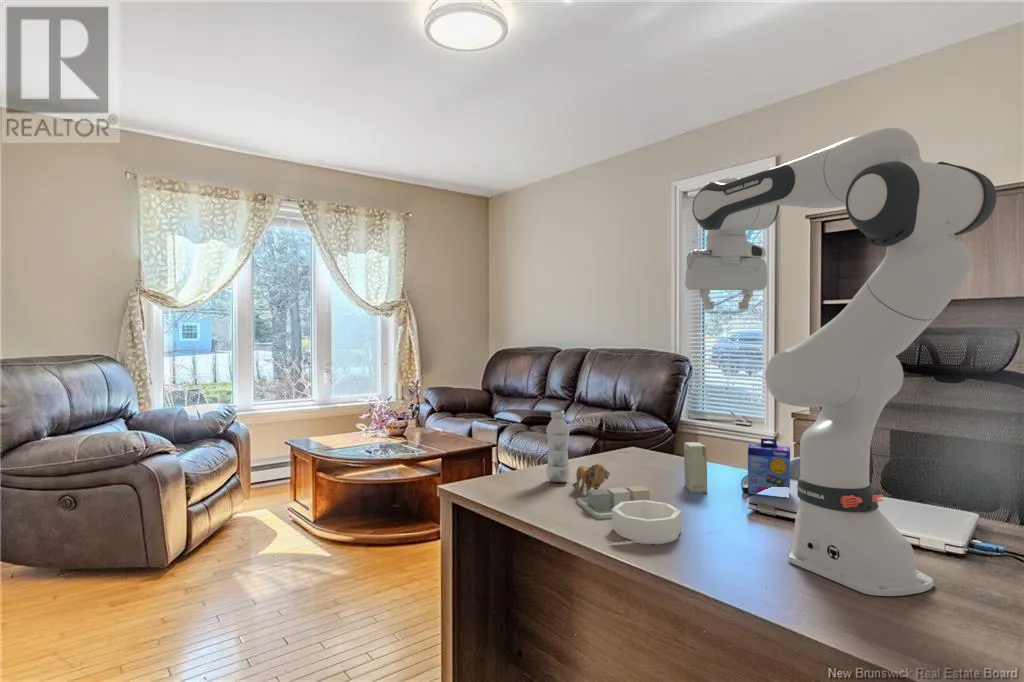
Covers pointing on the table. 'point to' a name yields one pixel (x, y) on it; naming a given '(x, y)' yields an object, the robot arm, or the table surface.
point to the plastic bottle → (558, 448)
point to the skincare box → (695, 466)
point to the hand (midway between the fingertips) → (726, 309)
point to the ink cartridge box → (768, 466)
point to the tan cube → (638, 493)
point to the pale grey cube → (618, 496)
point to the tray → (597, 515)
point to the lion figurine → (591, 476)
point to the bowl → (646, 521)
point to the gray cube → (599, 500)
